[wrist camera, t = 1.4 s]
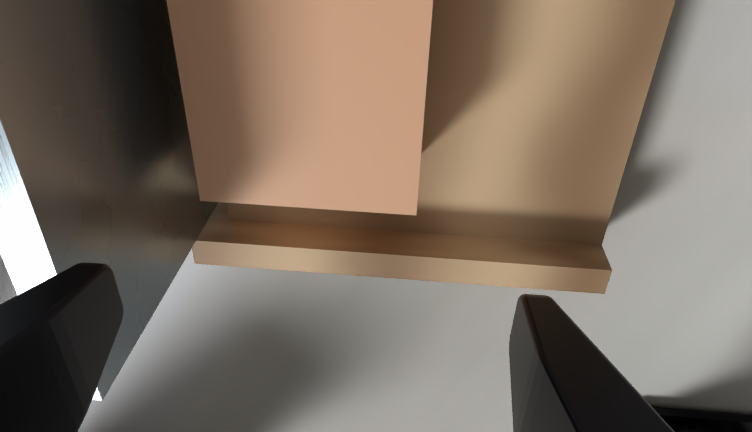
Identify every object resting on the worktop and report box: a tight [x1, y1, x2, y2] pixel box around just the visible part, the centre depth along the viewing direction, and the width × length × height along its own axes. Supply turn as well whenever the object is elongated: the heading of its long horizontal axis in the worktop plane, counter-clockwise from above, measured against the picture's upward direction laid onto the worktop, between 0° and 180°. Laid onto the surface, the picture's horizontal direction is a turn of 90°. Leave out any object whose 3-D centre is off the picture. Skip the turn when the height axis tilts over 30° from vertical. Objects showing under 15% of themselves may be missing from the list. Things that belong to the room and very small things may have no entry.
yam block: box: [167, 0, 433, 215], centre depth 16 cm, size 6×6×4 cm
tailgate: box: [0, 0, 218, 401], centre depth 14 cm, size 10×11×1 cm
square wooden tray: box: [192, 0, 675, 294], centre depth 17 cm, size 14×14×3 cm
